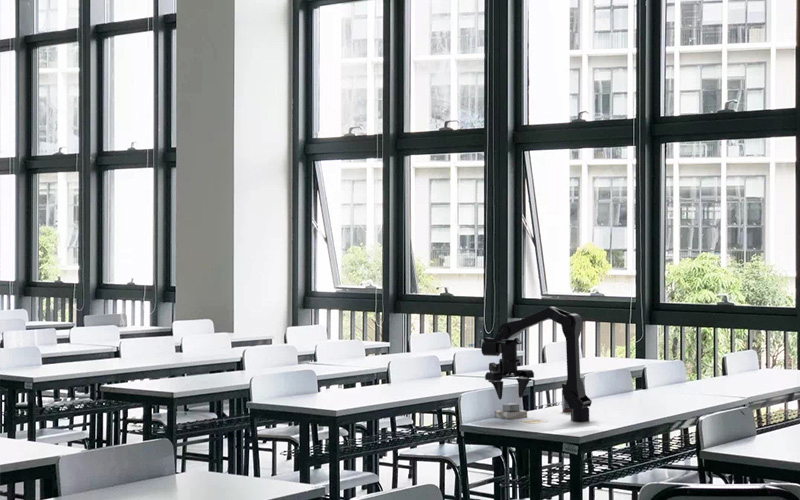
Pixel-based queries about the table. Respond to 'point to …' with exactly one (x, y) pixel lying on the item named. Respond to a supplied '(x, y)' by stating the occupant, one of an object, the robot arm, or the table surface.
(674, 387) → the table surface
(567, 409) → the supplement bottle
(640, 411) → the table surface
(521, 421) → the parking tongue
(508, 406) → the grey angular block
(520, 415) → the rack board
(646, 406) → the table surface
